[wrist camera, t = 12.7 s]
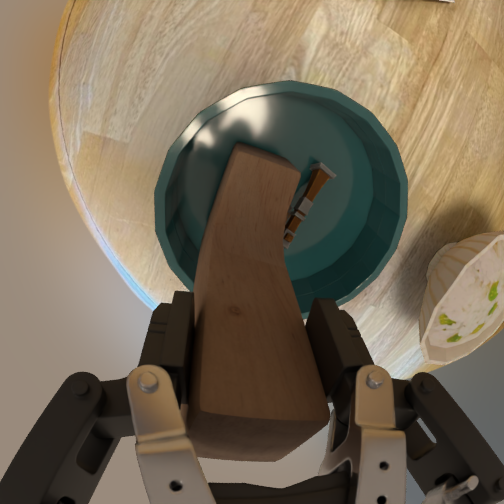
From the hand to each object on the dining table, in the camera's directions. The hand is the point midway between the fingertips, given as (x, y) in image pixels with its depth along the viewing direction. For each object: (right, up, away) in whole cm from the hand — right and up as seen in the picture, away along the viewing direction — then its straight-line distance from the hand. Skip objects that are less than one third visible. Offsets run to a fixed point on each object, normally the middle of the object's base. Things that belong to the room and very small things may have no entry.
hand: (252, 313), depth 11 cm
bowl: (+26, +1, +20) cm, 32 cm away
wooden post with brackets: (+4, +7, +14) cm, 16 cm away
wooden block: (-1, +7, +12) cm, 14 cm away
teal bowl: (+2, +7, +14) cm, 16 cm away
